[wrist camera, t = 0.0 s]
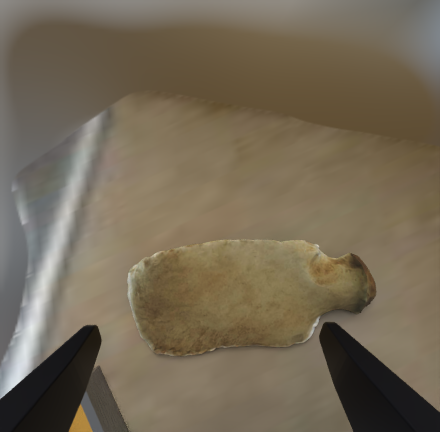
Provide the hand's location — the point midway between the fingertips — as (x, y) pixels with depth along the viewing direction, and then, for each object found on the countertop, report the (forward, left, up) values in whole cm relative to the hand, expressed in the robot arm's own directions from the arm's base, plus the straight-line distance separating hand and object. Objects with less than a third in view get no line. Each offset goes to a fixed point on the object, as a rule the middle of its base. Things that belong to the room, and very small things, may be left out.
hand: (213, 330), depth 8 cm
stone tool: (-4, -3, -15) cm, 16 cm away
